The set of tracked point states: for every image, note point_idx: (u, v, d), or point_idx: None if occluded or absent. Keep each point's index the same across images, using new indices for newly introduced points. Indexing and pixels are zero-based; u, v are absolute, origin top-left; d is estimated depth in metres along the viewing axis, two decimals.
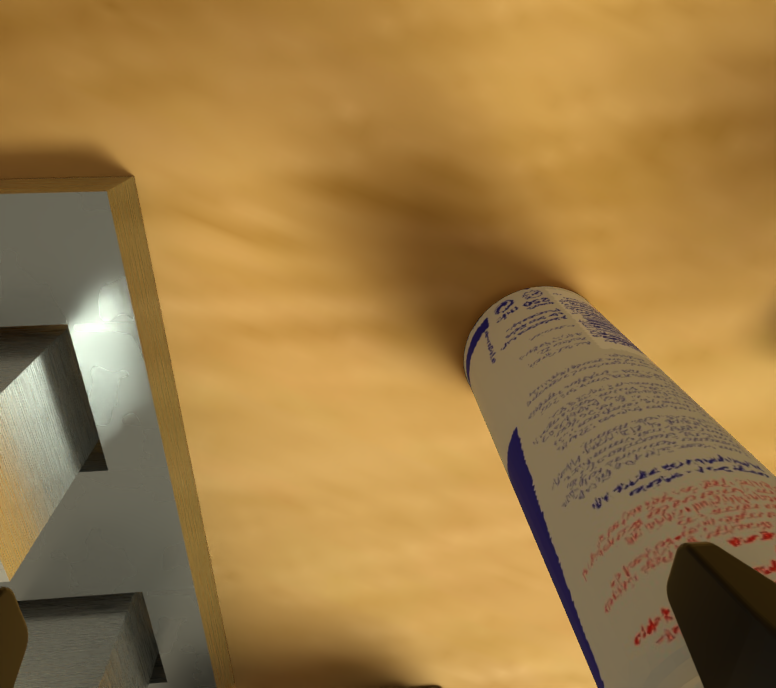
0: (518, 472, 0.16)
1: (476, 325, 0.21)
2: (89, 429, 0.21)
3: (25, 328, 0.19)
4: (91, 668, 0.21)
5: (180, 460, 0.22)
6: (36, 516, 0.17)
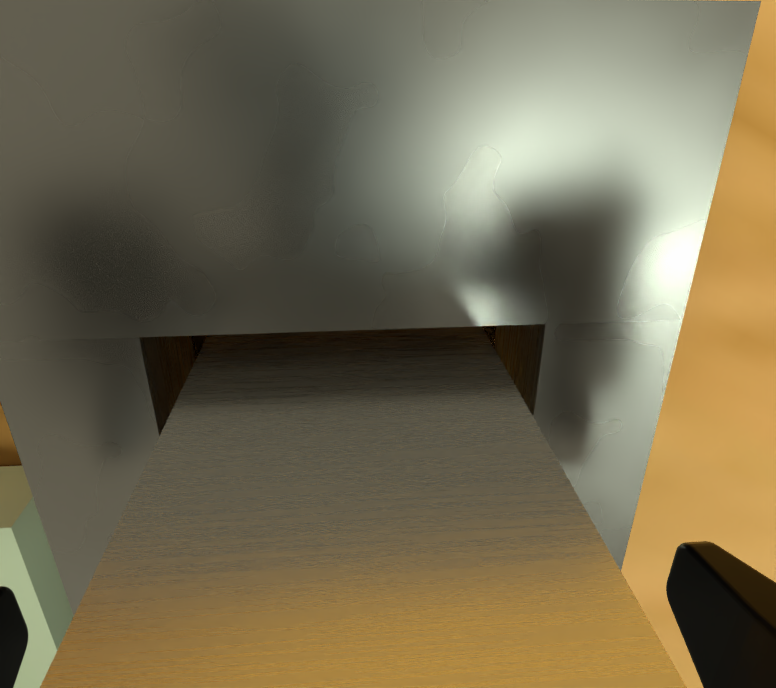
0: None
1: None
2: None
3: (401, 332, 0.10)
4: None
5: None
6: None
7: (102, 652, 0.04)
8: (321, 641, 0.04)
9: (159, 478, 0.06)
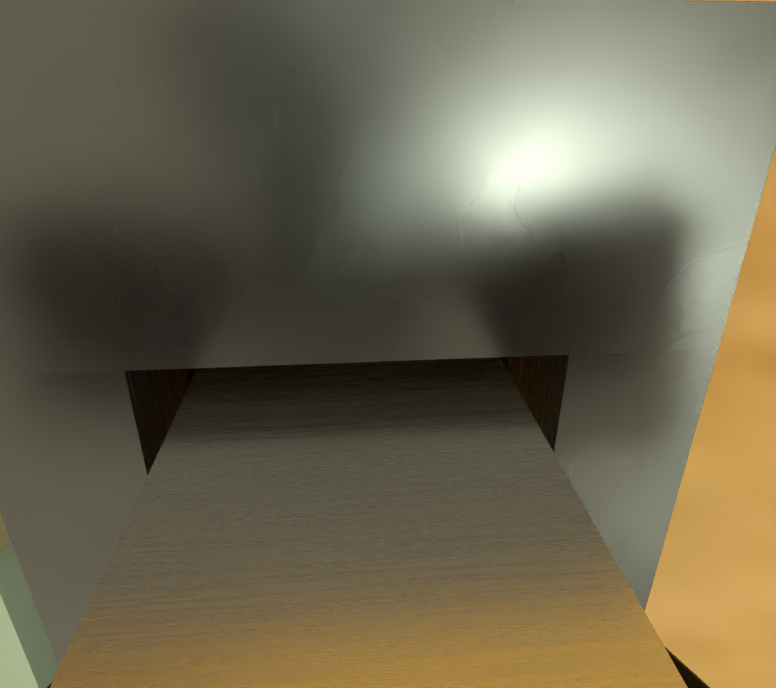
0: None
1: None
2: None
3: None
4: None
5: None
6: None
7: None
8: None
9: (139, 542, 0.05)
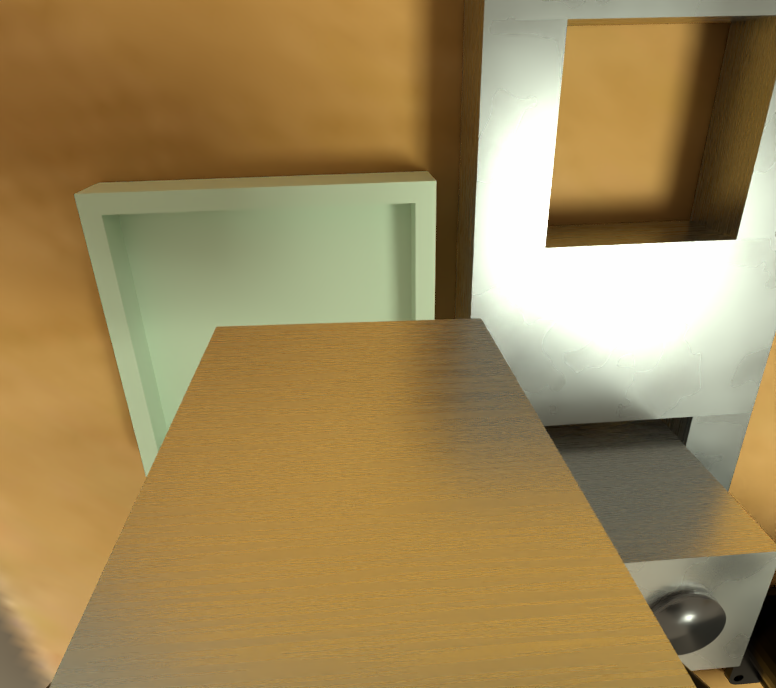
0: None
1: None
2: None
3: (411, 356, 0.09)
4: (705, 486, 0.17)
5: None
6: None
7: None
8: None
9: (141, 537, 0.05)
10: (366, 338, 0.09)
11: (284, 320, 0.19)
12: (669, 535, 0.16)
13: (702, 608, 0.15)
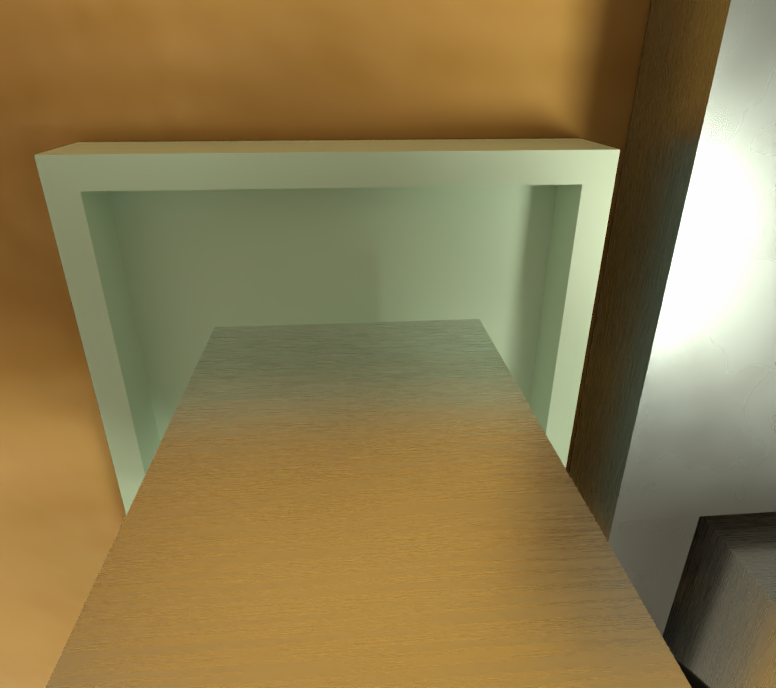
0: None
1: None
2: None
3: (410, 356, 0.09)
4: None
5: None
6: None
7: None
8: None
9: (138, 539, 0.05)
10: (364, 339, 0.09)
11: None
12: None
13: None
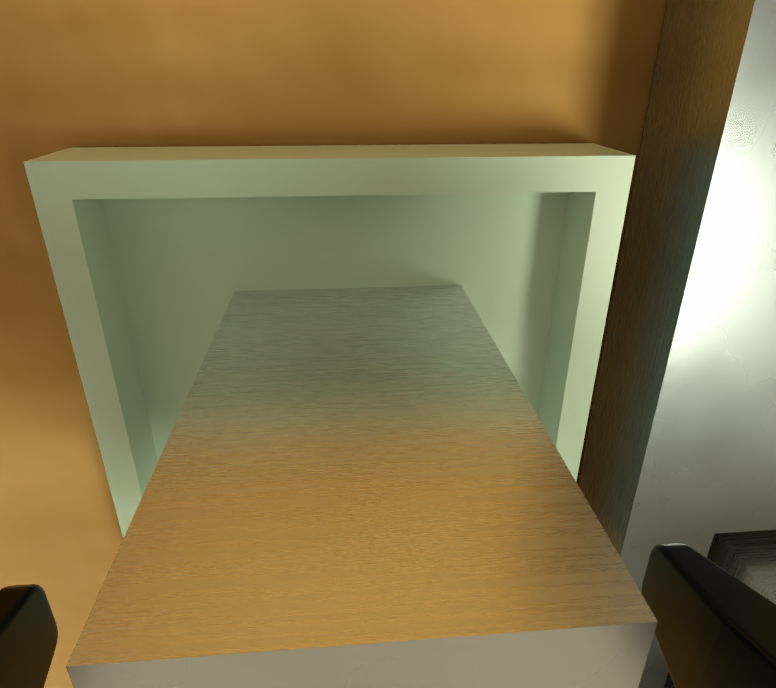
0: None
1: None
2: None
3: (400, 312, 0.10)
4: None
5: None
6: None
7: (153, 556, 0.05)
8: (334, 549, 0.05)
9: (189, 430, 0.07)
10: (362, 299, 0.11)
11: None
12: None
13: None
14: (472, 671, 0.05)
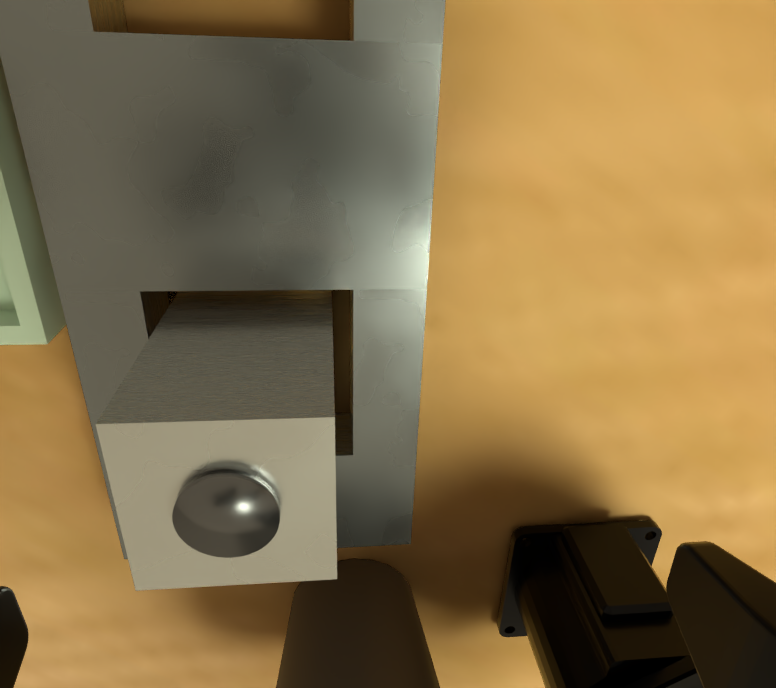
0: None
1: None
2: None
3: None
4: (312, 356, 0.14)
5: None
6: None
7: None
8: None
9: None
10: None
11: None
12: (208, 398, 0.12)
13: (237, 491, 0.12)
14: None
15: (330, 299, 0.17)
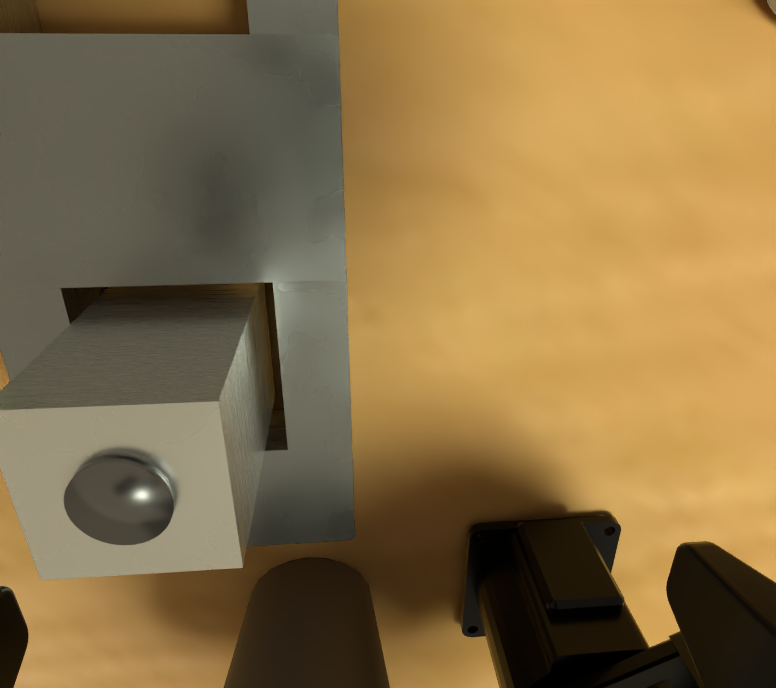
0: None
1: None
2: None
3: None
4: (216, 345, 0.14)
5: None
6: None
7: None
8: None
9: None
10: None
11: None
12: (99, 386, 0.12)
13: (125, 477, 0.12)
14: None
15: (254, 293, 0.17)
